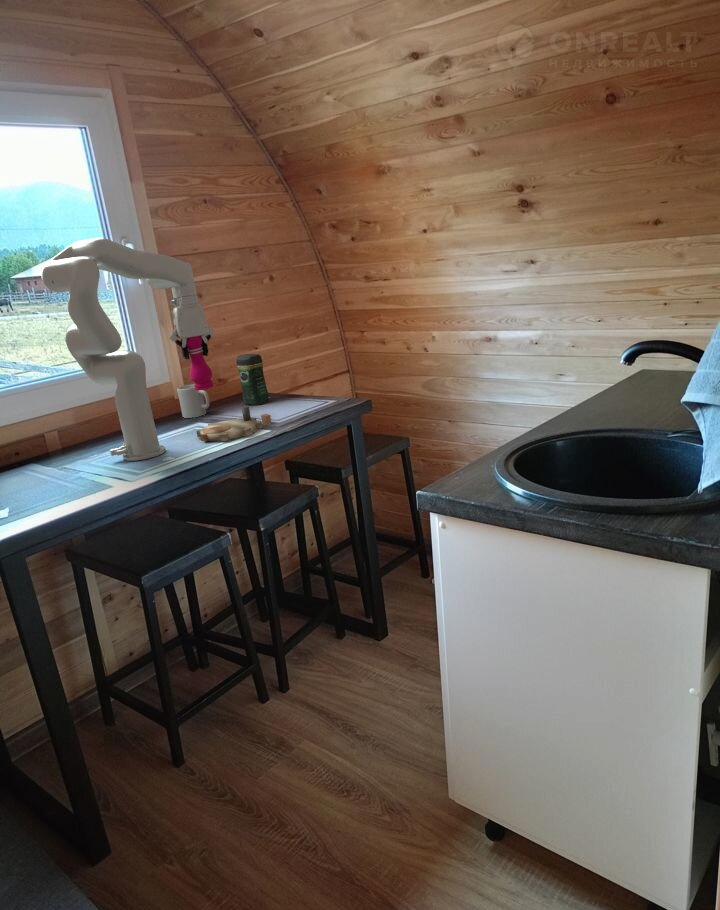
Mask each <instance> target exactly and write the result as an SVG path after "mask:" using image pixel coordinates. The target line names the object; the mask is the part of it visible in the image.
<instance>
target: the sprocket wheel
mask: <svg viewBox="0 0 720 910" xmlns="http://www.w3.org/2000/svg"><path fill="white" fill-rule="evenodd" d="M250 410H251V409H250V407H249V406H244V407H242V408H241V413H242V418H237V417H235V418H230V419H228V420H222V421H218V422H212V423H208V424H207V425H206V426H204V427H203V428H201V429H196V431H195V432H196V437H197V438H200V441H201V442H208V441H210V442H211V441H214V442H215V441H221V442H225V441H227V442H228V441H229V440H232V439H236V438H241V437H244V436H246V437H248V436H250V435H253V433H255V432H256V431H258V430H261V429H263V424H262V420H259V421H258V420H257V418H256V417H252V416H251V412H250Z"/></svg>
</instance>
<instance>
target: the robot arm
mask: <svg viewBox="0 0 720 910" xmlns="http://www.w3.org/2000/svg"><path fill="white" fill-rule="evenodd" d="M41 269H42V270H41V280H42V283H43V284H44V286H45V287H46V288H47V289H48V290H50V291H52V292H55V293H67V292H69V294H68V301H67V311H68V315H69V316H70V319H71V320H72V321H73V323H74V324H72V325H71V326H70V327H69V328H67V330H66V333H65V344H66V346H67V349H68V351H69V354H71V356H72V357H73V358H74V360H75V361H76V363H78V365H79V366H80V368H81V369H82V370H83V371H84V373H85V374H86V375H87V376H88V378H89V379H91V381H93V382H94V383H95V384H99V385H116V390H115V394H114V401H115V406H116V410H117V416H118V419H119V424H120V428H121V432H122V436H123V440H124V442H122V445H120V446H119V447H117V448H116V447H115V448H112V449H109V453H110V455H111V457H114V456H122V458H123V460H124V461H128V462H135V461H136V462H138V461H142V460H143V461H144V460H148V459H151V458H155V457H157V456H161V455H163V454H164V453H165V452H166V450H167V449H166V446H165V445H162V444H160V441H159V438H158V437H159V436H158V433H157V428H156V423H155V420H154V415H153V410H152V406H151V403H150V398H149V393H148V388H147V387H148V386H147V378H146V375H147V374H146V372H147V371H146V363H145V360H144V358H143V357H142V356H141V354H139V353H138V352H137V351H133V350H128V349H127V350H124V349H123V350H119V349H120V348H121V346H122V342H123V340H122V336H121V334H120V333H119V330H118V329H117V328H116V327H115V325H114V323H113V322H112V321H111V319H110V318H109V316H108V315H107V313H106V312H105V311H104V309H103V307H102V306H101V303H100V302H99V299H98V298H99V296H98V291H99V283H100V270H101V271H105V272H108V273H111V274H115V275H119V276H120V277H123V278H127V279H131V280H146V283H147V284H148V285H149V286H150V287H151V288H153V289H156V290H166V289H171V291H172V292H171V293H172V294H171V295H172V297H173V298H172V300H169V305H170V306H173V308H172V309H173V311H172V312H173V313H172V316H173V328H174V329H173V331H172V332H171V334H170V335H169V338H168V339H169V340H170V341H172V342H174V344H176V345H177V346H179V347H180V349H181V354H182V358H184V360H191V357H190V354H189V352H188V348H187V347H186V340H187V338H191V337H197V336H201V338H202V344H201V347H202V350H203V351H202V354H203V357H204V356H205V357H208V355H209V348H208V343H209V341H210V339H211V338H212V336H213V334H214V333H215V330H214V329H213V328H212V327H211V325H209V324H208V322H207V318H206V315H205V312H204V309H203V306H202V304H199V300H198V299H199V298H198V295H197V289H196V284H195V283H196V282H195V278H194V273H193V267H192V265H191V263H190V262H187V261H185V262H184V261H182V260H180V259H178V258H175V257H173V256H170V255H168V254H167V255H165V254H160V253H154V252H149V251H145V250H144V251H143V250H137V249H135V248H131V247H129V246H127V245H125V244H124V245H123V244H121V243H119V242H116V241H113V240H111V239H108V238H104V237H95V238H89V239H88V238H87V239H84V240H83V239H81V240H78V241H75V242H73V243H72V244H70V245H68V246H67V247H65V248H64V249H63V250H62V251H59V253H57V254H56V255H55V256H54V257H52V258H51V259H49V260H48V261H47V262H46V263H45V264H44V265H43V267H42V268H41ZM177 338H178V339H177Z"/></svg>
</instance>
